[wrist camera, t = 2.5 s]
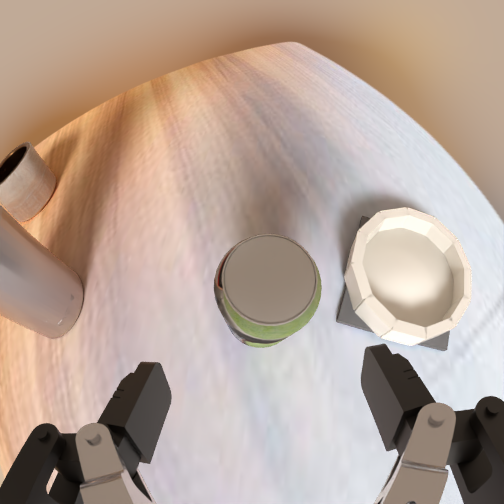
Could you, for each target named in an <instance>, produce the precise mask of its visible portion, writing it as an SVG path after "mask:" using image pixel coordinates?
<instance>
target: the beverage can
mask: <svg viewBox="0 0 504 504" xmlns="http://www.w3.org/2000/svg"><path fill="white" fill-rule="evenodd" d="M214 293H215V299H216V302H217V305H218V308H219V310H220V312H221V313H222V315H223V317H224V319H225V321H226V323H227V325H228V327H229V328H230V330H231V332H232V333H233V335H234V336H235V337H236V338H237V339H238V340H239V341H241V342H242V343H244V344H246V345H249V346H252V347H257V348H264V347H270V346H273V345H275V344H277V343H279V342H281V341H282V340H284V339H286V338H287V337H289V336H290V335H292V334H294V333H295V332H297V331H298V330H300V329H301V328H302V327H303V326H305V325H306V324H307V323H308V322H309V320H310V319H311V318H312V316H313V315H314V313H315V311H316V309H317V307H318V304H319V301H320V298H321V278H320V274H319V271H318V268H317V266H316V264H315V262H314V261H313V259H312V258H311V256H310V255H309V254H308V252H307V251H306V250H305V249H304V248H303V247H302V246H301V245H300V244H298V243H297V242H296V241H294V240H292V239H290V238H288V237H285V236H282V235H277V234H261V235H256V236H253V237H250V238H248V239H246V240H244V241H242V242H240V243H238V244H237V245H235V246H234V247H233V248H231V249H230V250H229V251H228V252H227V253H226V255H225V256H224V257H223V259H222V260H221V262H220V264H219V266H218V268H217V271H216V275H215V279H214Z"/></svg>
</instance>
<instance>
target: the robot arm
mask: <svg viewBox="0 0 504 504" xmlns="http://www.w3.org/2000/svg"><path fill="white" fill-rule="evenodd" d="M82 302H83V287H82V283H81V280H80V278H79V276H78V275H77V274H76V273H75V272H74V271H73V270H72V269H71V268H69V267H68V266H67V265H66V264H64V263H63V262H62V261H61V260H59V259H58V258H57V257H56V256H55V255H54V254H52V253H51V252H50V251H49V250H48V249H47V248H45V247H44V246H43V245H42V244H41V243H40V242H38V241H37V240H36V239H35V238H34V237H33V236H32V235H31V234H30V233H28V232H27V231H26V230H25V229H24V228H23V227H22V226H21V225H20V224H19V223H18V222H17V221H16V220H15V219H14V218H13V217H12V216H11V215H10V214H9V213H8V212H7V211H6V210H5V209H4V208H3V207H2V206H1V205H0V315H1V316H3V317H5V318H7V319H9V320H11V321H13V322H15V323H17V324H19V325H22V326H24V327H26V328H28V329H30V330H32V331H34V332H37V333H39V334H41V335H44V336H46V337H48V338H58V337H60V336H63V335H64V334H66V333H67V332H68V331H69V330H70V329H71V328H72V326H73V325H74V323H75V322H76V320H77V318H78V316H79V313H80V311H81V306H82ZM361 386H362V390H363V393H364V395H365V397H366V400H367V402H368V405H369V407H370V410H371V412H372V415H373V417H374V420H375V422H376V425H377V427H378V430H379V433H380V435H381V438H382V440H383V443H384V446H385V448H386V451H390V450H393V449H397V451H398V454H399V455H398V457H397V459H396V461H395V463H394V465H393V467H392V470H391V472H390V474H389V476H388V478H387V480H386V482H385V484H384V486H383V488H382V490H381V492H380V494H379V495H378V497H377V499H376V500H375V502H374V504H439V502H440V499H441V496H442V493H443V490H444V487H445V484H446V481H447V477H448V470H446V469H445V466H446V465H450V467H451V470H452V472H453V475H454V478H455V480H456V483H457V486H458V488H459V491H460V494H461V497H462V499H463V502H464V504H504V402H503V401H502V400H501V399H499V398H497V397H494V396H488V397H484V398H482V399H481V400H480V401H479V402H478V403H477V405H476V407H475V409H470V410H463V411H453V409H452V408H451V407H449V406H448V405H446V404H443V403H436V402H435V400H434V399H433V397H432V396H431V394H430V392H429V391H428V389H427V388H426V386H425V385H424V383H423V382H422V380H421V379H420V377H418V374H417V373H416V371H415V370H413V367H412V365H411V364H410V362H409V361H408V360H407V359H406V358H404V357H403V356H401V355H400V354H398V353H397V354H393V355H392V353H391V351H390V350H389V348H388V347H387V345H386V344H380V345H375V346H370V347H366V349H365V353H364V360H363V367H362V373H361ZM170 404H171V390H170V387H169V385H168V382H167V379H166V377H165V374H164V371H163V368H162V366H161V364H160V363H158V362H141V363H140V364H139V365H138V367H137V369H136V371H135V372H134V373H130V374H129V375H127V376H126V377H125V378H124V379H123V380H122V381H121V382H120V384H119V386H118V387H117V391H115V392H114V394H113V398H111V399H110V401H109V403H108V404H107V406H106V408H105V410H104V411H103V413H102V415H101V417H100V418H99V420H98V422H97V423H91V424H87V425H85V426H83V427H82V428H81V429H80V430H79V431H78V433H73V434H63V433H60V432H59V430H58V429H57V428H56V427H55V426H54V425H52V424H49V423H45V424H41V425H39V426H37V427H36V428H35V429H34V430H33V431H32V433H31V434H30V436H29V437H28V439H27V441H26V442H25V444H24V446H23V447H22V449H21V451H20V452H19V454H18V456H17V458H16V459H15V461H14V463H13V465H12V467H11V468H10V470H9V472H8V474H7V476H6V478H5V479H4V481H3V484H2V485H1V487H0V504H156V502H155V500H154V498H153V497H152V495H151V493H150V491H149V489H148V487H147V485H146V483H145V481H144V479H143V477H142V475H141V473H140V471H139V470H138V468H137V467H138V465H139V462H143V463H148V464H150V462H151V459H152V456H153V453H154V450H155V447H156V445H157V442H158V439H159V436H160V433H161V430H162V427H163V424H164V421H165V418H166V415H167V413H168V410H169V407H170ZM54 468H55V469H56V470H57V471H58V474H57V476H56V478H55V481H54V483H53V485H52V487H51V490H50V492H49V494H47V491H46V485H47V483H48V481H49V479H50V476H51V474H52V472H53V470H54Z"/></svg>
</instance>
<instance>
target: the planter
mask: <svg viewBox="0 0 504 504" xmlns="http://www.w3.org/2000/svg"><path fill="white" fill-rule="evenodd" d="M55 186H56V177H55V175H54V174H53V173H52V171H51V170H50V169H49V167H48V166H47V165H46V164H45V162H44V161H43V160H42V158H41V157H40V156H39V154H38V153H37V152H36V150H35V149H34V147H33V146H32V145H31V143H30V142H25V143H23V144H21V145H19V146H18V147H16V148H15V149H14V150H13V151H12V152H10V153H9V154H8V155H7V156H6V158H5V159H4V160H3V161H2V162H1V163H0V203H1V204H2V205H3V206H4V207H5V208H6V209H7V210H8V211H9V212H10V213H11V214H12V215H13V217H14V218H15V219H17V220H18V221H20V222H25V221H28V220H30V219H32V218H33V217H35V216H36V215H37V214H38V213H39V212H40V211H41V210H42V209H43V208H44V207H45V206H46V204H47V203H48V201H49V200H50V198H51V196H52V194H53V192H54V189H55Z"/></svg>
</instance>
